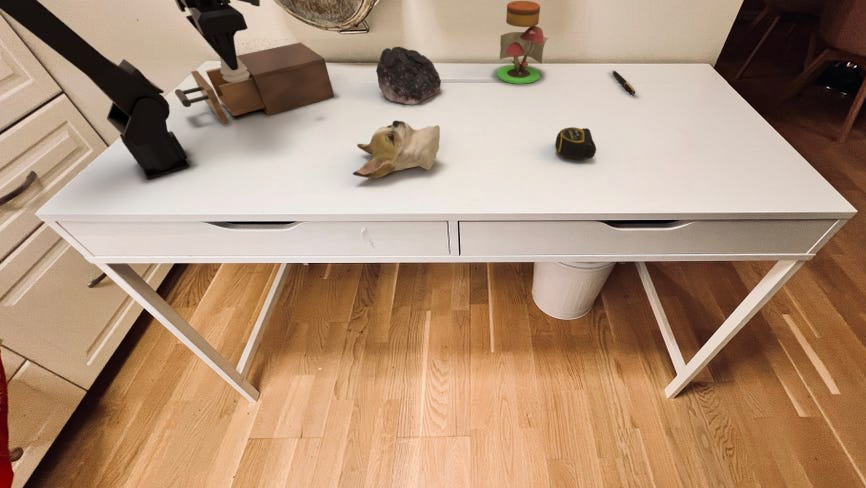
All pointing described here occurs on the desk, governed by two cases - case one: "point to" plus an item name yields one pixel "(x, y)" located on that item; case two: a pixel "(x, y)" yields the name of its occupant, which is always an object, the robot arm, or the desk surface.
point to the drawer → (224, 94)
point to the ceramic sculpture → (399, 149)
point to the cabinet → (288, 76)
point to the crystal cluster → (407, 76)
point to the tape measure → (575, 143)
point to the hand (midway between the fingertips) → (232, 66)
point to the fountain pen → (624, 82)
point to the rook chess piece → (234, 72)
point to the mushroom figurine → (522, 43)
